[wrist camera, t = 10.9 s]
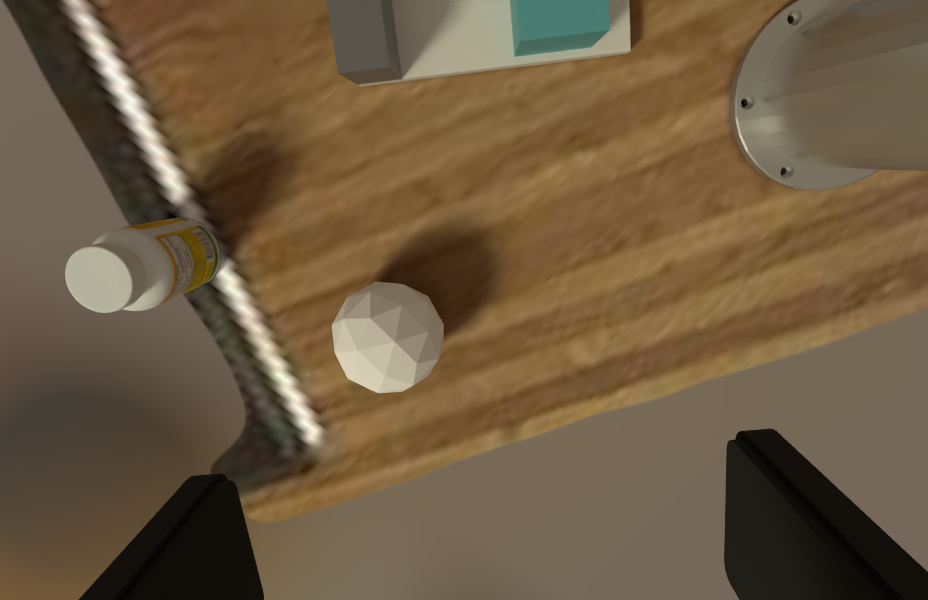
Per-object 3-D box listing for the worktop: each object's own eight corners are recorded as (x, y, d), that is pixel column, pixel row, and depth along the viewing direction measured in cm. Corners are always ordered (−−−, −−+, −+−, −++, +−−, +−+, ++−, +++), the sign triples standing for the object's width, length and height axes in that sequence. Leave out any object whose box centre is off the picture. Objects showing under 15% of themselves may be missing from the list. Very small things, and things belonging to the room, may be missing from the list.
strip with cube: (623, -48, 34) (653, -91, 28) (626, 53, 35) (655, 34, 29) (346, -11, 35) (319, -45, 29) (360, 86, 36) (338, 73, 30)
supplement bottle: (233, 239, 40) (158, 264, 30) (206, 298, 41) (126, 340, 32) (167, 202, 39) (69, 217, 30) (141, 264, 40) (40, 297, 31)
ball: (394, 334, 44) (335, 405, 39) (361, 254, 40) (289, 322, 34) (473, 349, 40) (419, 430, 35) (447, 262, 36) (380, 340, 31)
